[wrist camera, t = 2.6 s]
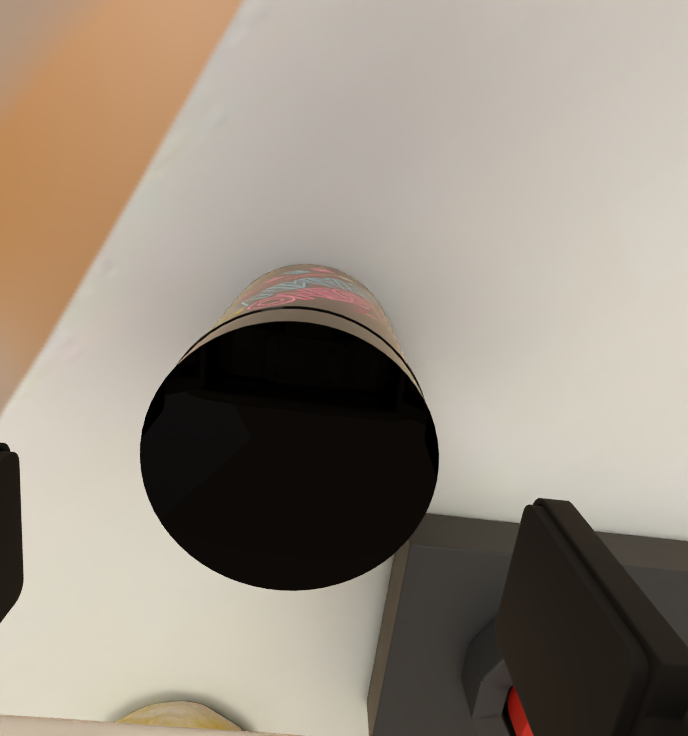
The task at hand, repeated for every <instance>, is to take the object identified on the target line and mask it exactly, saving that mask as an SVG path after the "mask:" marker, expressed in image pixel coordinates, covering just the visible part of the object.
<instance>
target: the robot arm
mask: <svg viewBox="0 0 688 736" xmlns="http://www.w3.org/2000/svg"><path fill="white" fill-rule="evenodd" d="M22 587H23V551H22V523H21V495H20V467H19V457H18V455H17V453H15V452H10V449H9V446H8V445H7V444H6V443H0V623H1V621H2V620H3V619H4V617H5V616H6V615H7V613H8V612H9V611H10V609H11V608H12V607H13V606H14V604H15V603H16V601H17V600H18V598H19V596H20V593H21V590H22ZM495 635H496V640H497V643H498V646H499V649H500V651H501V654H502V656H503V659H504V661H505V664H506V667H507V669H508V672H509V674H510V677H511V679H512V682H513V685H514V687H515V690H516V692H517V695H518V697H519V700H520V703H521V705H522V708H523V710H524V713H525V715H526V718H527V721H528V723H529V726H530V728H531V731H532V733H533V736H688V647H687V645H686V644H685V643H684V642H683V640H682V639H681V638H680V637H679V635H678V634H677V633H676V632H675V631H674V629H673V628H672V627H671V626H670V624H669V623H668V622H667V621H666V619H665V618H664V617H663V616H662V614H661V613H660V612H659V611H658V610H657V608H656V607H655V606H654V605H653V603H652V602H651V601H650V600H649V598H648V597H647V596H646V595H645V593H644V592H643V591H642V590H641V588H640V587H639V586H638V585H637V584H636V582H635V581H634V580H633V579H632V577H631V576H630V575H629V574H628V572H627V571H626V570H625V569H624V567H623V566H622V565H621V564H620V563H619V561H618V560H617V559H616V558H615V556H614V555H613V554H612V553H611V551H610V550H609V549H608V548H607V546H606V545H605V544H604V543H603V542H602V540H601V539H600V538H599V537H598V535H597V534H596V533H595V532H594V530H593V529H592V528H591V527H590V525H589V524H588V523H587V522H586V520H585V519H584V518H583V517H582V516H581V514H580V513H579V512H578V511H577V509H576V508H575V507H574V506H573V504H572V503H570V502H569V501H563V500H553V499H543V498H538V499H536V500H535V502H534V503H533V505H527V506H526V507H525V508H524V511H523V515H522V518H521V522H520V526H519V530H518V534H517V538H516V542H515V546H514V550H513V554H512V558H511V562H510V566H509V570H508V574H507V578H506V582H505V586H504V590H503V594H502V598H501V602H500V606H499V610H498V614H497V618H496V623H495ZM0 736H303V735H289V734H275V733H261V732H247V731H233V730H219V729H204V728H190V727H175V726H161V725H146V724H132V723H117V722H103V721H88V720H74V719H59V718H45V717H29V716H14V715H0Z"/></svg>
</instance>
